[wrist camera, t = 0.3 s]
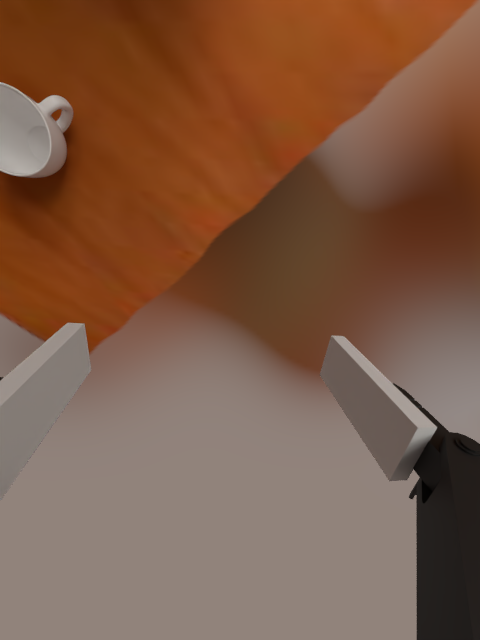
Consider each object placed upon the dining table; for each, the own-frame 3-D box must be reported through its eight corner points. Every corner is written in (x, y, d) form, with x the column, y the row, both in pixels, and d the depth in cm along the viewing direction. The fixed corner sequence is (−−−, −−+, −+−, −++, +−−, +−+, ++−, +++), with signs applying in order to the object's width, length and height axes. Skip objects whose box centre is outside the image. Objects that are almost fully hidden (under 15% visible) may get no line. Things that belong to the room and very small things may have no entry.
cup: (-6, 132, 30) (-60, 114, 24) (57, 77, 29) (17, 43, 23) (49, 194, 33) (14, 192, 27) (108, 147, 32) (85, 133, 26)
